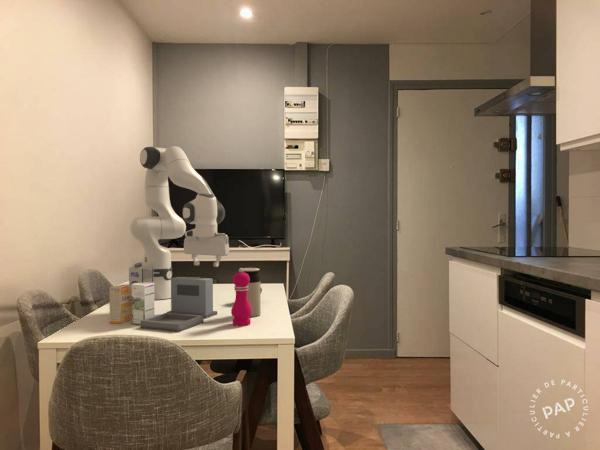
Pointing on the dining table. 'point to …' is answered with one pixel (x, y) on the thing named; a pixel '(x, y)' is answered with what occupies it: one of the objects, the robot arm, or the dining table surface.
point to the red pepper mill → (241, 299)
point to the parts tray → (172, 322)
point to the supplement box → (120, 303)
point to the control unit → (192, 296)
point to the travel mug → (254, 291)
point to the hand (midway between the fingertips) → (206, 265)
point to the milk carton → (141, 273)
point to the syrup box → (142, 302)
